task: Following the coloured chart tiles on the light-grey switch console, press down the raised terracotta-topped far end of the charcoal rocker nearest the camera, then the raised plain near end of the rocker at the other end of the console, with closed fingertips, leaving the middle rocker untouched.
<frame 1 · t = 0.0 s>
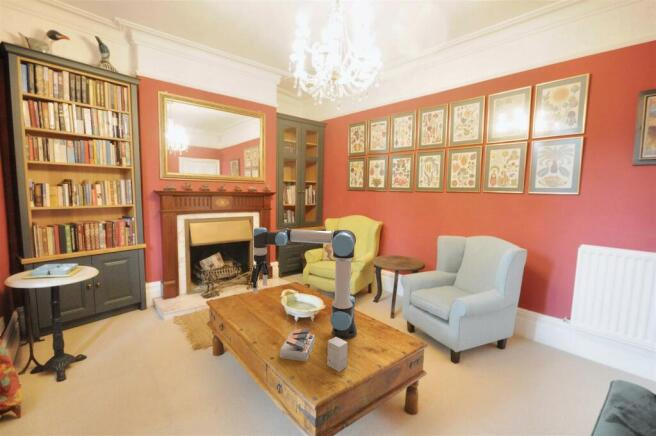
hand: (260, 289, 173), 28 cm above the table, fingers open, 13 cm apart
console: (298, 350, 160), on the table
rocker C: (295, 343, 153), point 7 cm above the table, hinge at -14.0°
small box: (337, 366, 146), on the table
rocker B: (298, 338, 159), point 7 cm above the table, hinge at 14.0°
rocker A: (301, 332, 165), point 7 cm above the table, hinge at 14.0°
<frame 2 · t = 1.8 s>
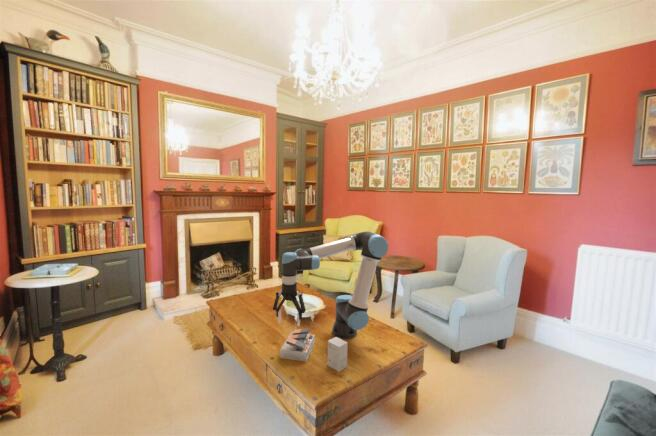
hand: (289, 323, 152), 18 cm above the table, fingers open, 10 cm apart
nothing on the table moved.
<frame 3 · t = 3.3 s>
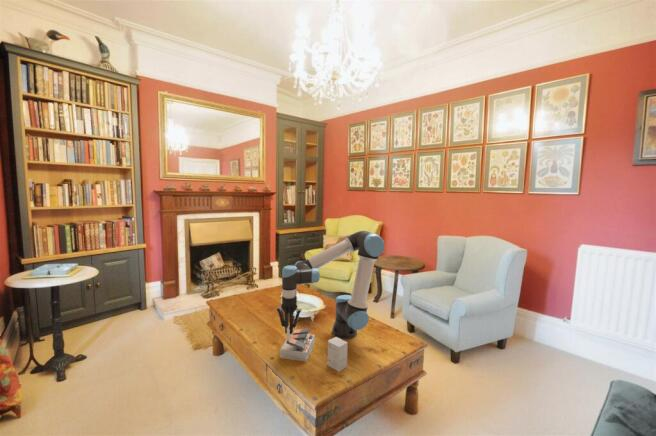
hand: (288, 339, 153), 9 cm above the table, fingers closed
rocker C: (295, 343, 153), point 7 cm above the table, hinge at -14.0°, touching gripper
everything else where it was.
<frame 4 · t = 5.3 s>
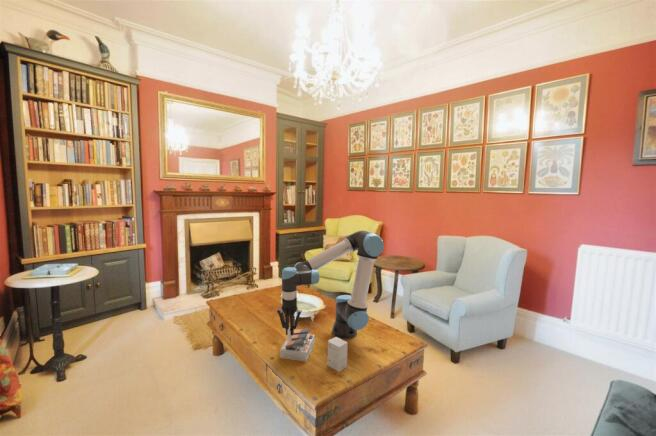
hand: (289, 340, 153), 8 cm above the table, fingers closed
rocker C: (294, 343, 153), point 7 cm above the table, hinge at 24.5°, touching console
everything else where it was.
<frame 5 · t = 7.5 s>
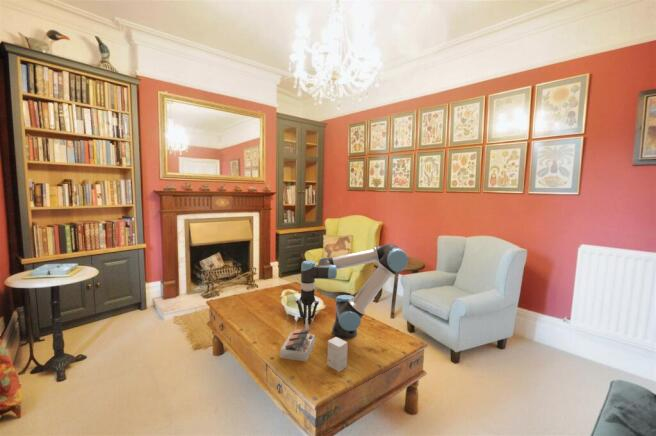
hand: (307, 329, 164), 9 cm above the table, fingers closed
rocker C: (294, 343, 153), point 7 cm above the table, hinge at 23.8°
rocker A: (301, 332, 165), point 7 cm above the table, hinge at 14.0°, touching gripper
everything else where it was.
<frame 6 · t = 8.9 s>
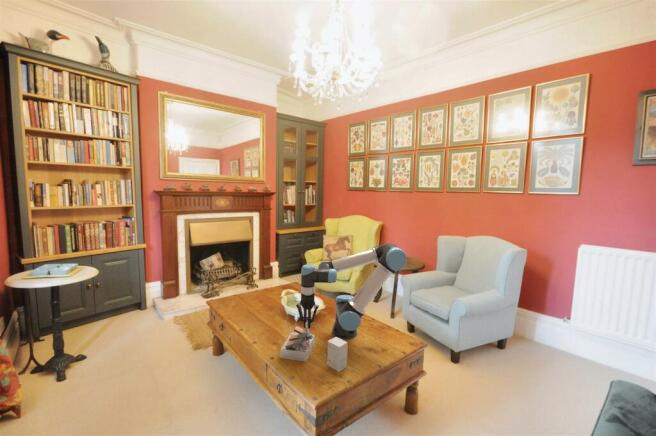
hand: (307, 333, 164), 7 cm above the table, fingers closed
rocker A: (301, 332, 165), point 7 cm above the table, hinge at -23.0°, touching gripper
everything else where it was.
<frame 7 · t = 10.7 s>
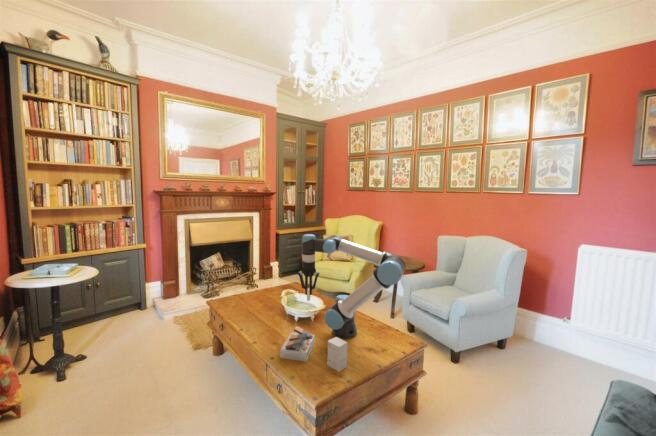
hand: (308, 299, 172), 22 cm above the table, fingers closed
rocker A: (301, 332, 165), point 7 cm above the table, hinge at -22.7°
everything else where it was.
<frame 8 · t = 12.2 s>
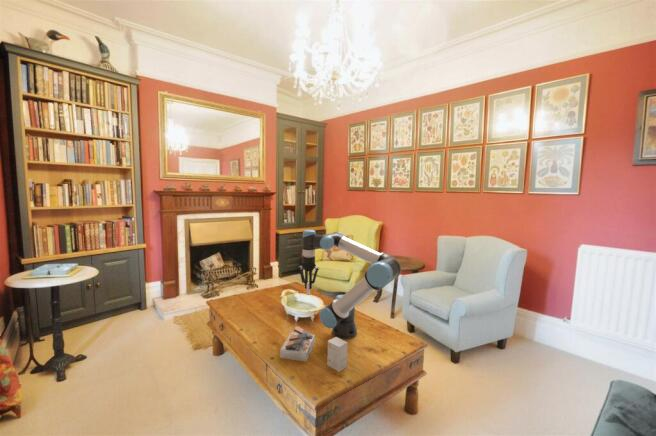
hand: (308, 294, 176), 24 cm above the table, fingers closed
nothing on the table moved.
at the end: rocker C at +24° (first picture: -14°); rocker A at -23° (first picture: +14°); rocker B at +14° (first picture: +14°) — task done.
